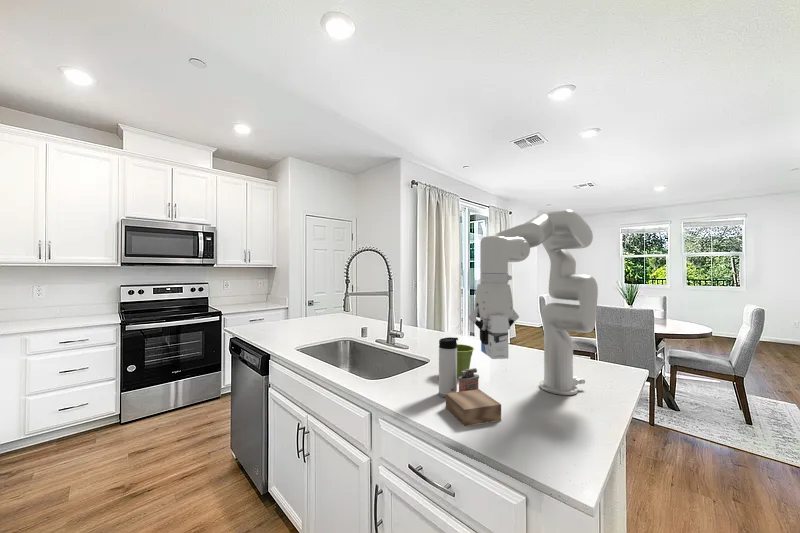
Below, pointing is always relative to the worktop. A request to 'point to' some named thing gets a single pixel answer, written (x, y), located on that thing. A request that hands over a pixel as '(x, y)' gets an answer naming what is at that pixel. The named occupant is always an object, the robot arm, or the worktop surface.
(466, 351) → the plant pot
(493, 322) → the ink box
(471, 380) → the lighter
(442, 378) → the travel mug
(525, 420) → the worktop surface
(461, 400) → the walnut block
